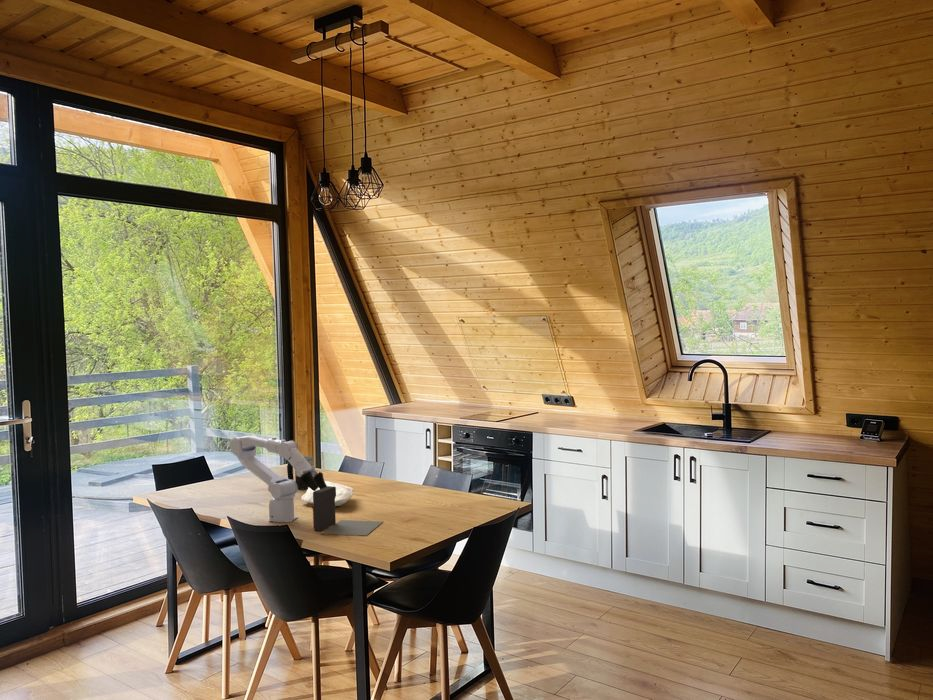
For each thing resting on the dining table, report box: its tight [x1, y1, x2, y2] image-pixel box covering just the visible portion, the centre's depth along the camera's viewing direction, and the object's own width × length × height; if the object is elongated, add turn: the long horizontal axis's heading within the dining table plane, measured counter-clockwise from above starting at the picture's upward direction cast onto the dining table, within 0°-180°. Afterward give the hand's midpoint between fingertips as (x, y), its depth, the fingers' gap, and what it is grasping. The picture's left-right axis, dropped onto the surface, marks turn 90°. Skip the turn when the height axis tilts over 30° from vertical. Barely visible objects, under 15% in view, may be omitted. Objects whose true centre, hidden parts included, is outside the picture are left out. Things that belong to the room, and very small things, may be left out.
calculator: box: [312, 486, 337, 532], centre depth 288 cm, size 11×4×15 cm, turn 159°
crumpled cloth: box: [300, 480, 355, 507], centre depth 329 cm, size 24×35×9 cm
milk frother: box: [286, 456, 315, 490], centre depth 360 cm, size 14×16×15 cm
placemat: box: [320, 519, 384, 537], centre depth 286 cm, size 18×20×1 cm
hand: (320, 489), depth 291 cm, fingers open, 7 cm apart
